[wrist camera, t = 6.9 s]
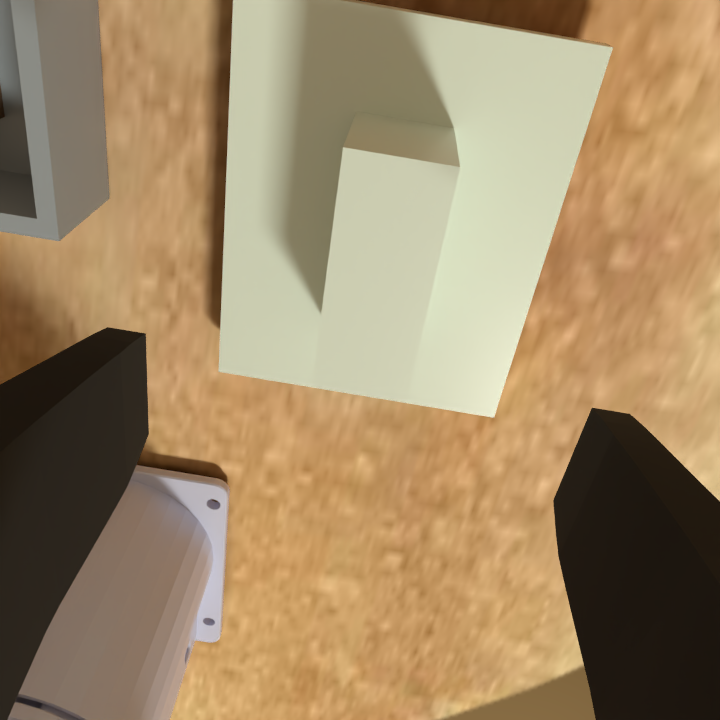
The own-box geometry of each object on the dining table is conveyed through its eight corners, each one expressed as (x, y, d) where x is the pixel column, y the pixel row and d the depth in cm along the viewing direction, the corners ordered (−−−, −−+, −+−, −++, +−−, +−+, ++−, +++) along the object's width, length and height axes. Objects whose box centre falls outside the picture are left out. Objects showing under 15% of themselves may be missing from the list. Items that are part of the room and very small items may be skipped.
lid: (490, 391, 22) (504, 489, 18) (229, 348, 22) (188, 437, 18) (599, 39, 16) (653, 72, 12) (247, -22, 16) (192, -7, 12)
